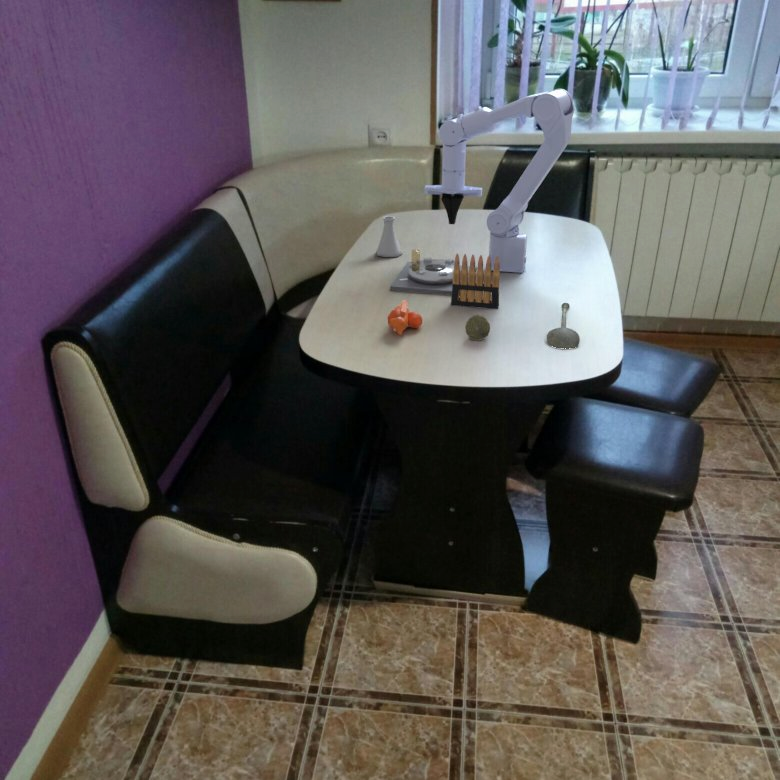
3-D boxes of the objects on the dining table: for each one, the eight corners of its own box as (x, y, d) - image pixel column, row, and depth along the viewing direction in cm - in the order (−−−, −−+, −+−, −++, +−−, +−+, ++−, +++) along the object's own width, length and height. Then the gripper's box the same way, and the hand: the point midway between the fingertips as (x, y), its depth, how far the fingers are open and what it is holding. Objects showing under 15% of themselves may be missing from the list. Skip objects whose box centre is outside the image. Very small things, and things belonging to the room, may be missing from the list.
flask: (399, 259, 193) (399, 221, 188) (373, 257, 194) (372, 220, 189) (404, 250, 199) (404, 214, 194) (379, 249, 201) (378, 213, 196)
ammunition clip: (450, 305, 165) (452, 254, 159) (452, 302, 166) (453, 251, 160) (498, 309, 162) (501, 257, 157) (499, 306, 164) (502, 254, 158)
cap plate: (476, 270, 184) (476, 266, 184) (465, 296, 169) (465, 291, 169) (407, 265, 188) (407, 261, 188) (390, 290, 173) (390, 285, 173)
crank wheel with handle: (450, 263, 185) (451, 238, 182) (469, 280, 174) (470, 254, 171) (401, 269, 182) (401, 243, 179) (418, 287, 171) (418, 259, 168)
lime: (492, 340, 148) (493, 317, 146) (471, 344, 147) (472, 321, 144) (482, 332, 152) (483, 310, 149) (461, 335, 150) (462, 313, 148)
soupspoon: (544, 353, 145) (577, 357, 144) (546, 338, 144) (580, 342, 142) (550, 307, 164) (580, 311, 162) (553, 293, 162) (583, 297, 161)
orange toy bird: (395, 291, 157) (389, 313, 147) (427, 302, 158) (424, 325, 147) (387, 311, 160) (381, 334, 149) (420, 322, 160) (416, 346, 150)
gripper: (422, 171, 180) (421, 225, 187) (480, 174, 177) (477, 229, 183) (427, 165, 186) (427, 218, 193) (484, 168, 183) (481, 221, 189)
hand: (452, 223), depth 188 cm, fingers closed
